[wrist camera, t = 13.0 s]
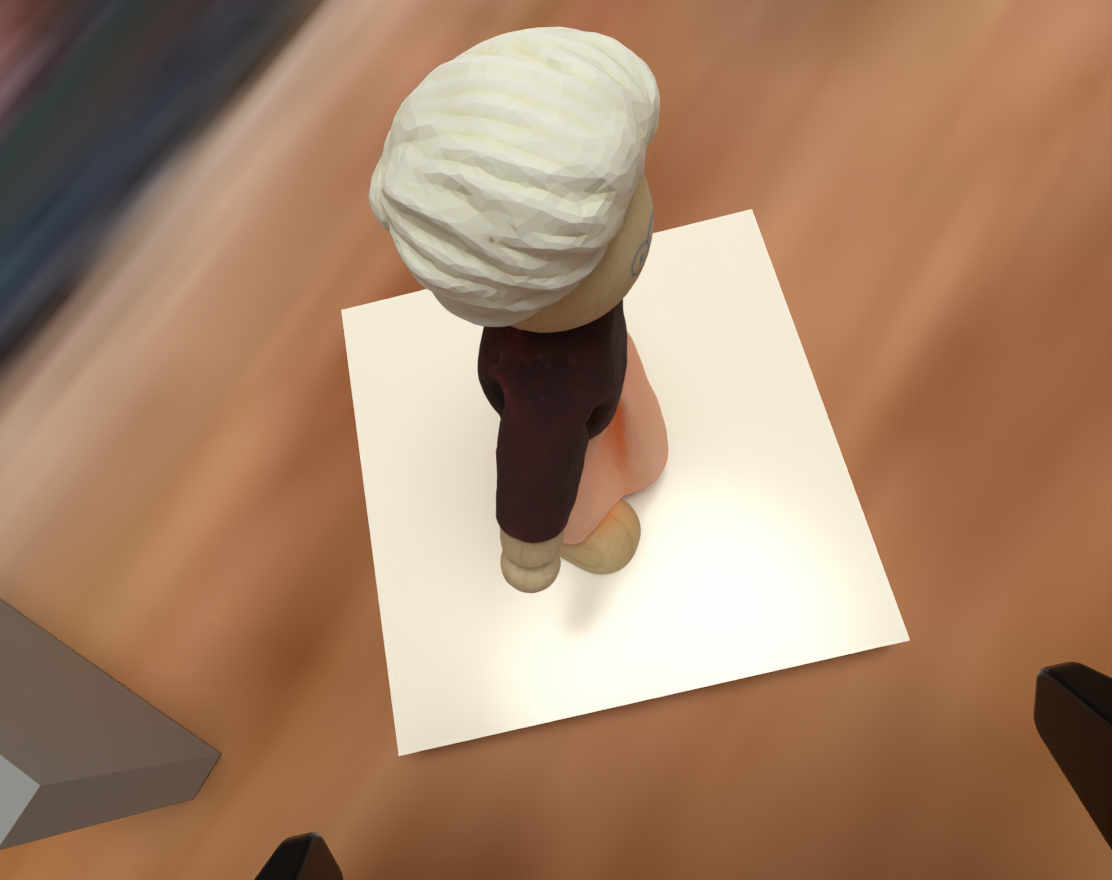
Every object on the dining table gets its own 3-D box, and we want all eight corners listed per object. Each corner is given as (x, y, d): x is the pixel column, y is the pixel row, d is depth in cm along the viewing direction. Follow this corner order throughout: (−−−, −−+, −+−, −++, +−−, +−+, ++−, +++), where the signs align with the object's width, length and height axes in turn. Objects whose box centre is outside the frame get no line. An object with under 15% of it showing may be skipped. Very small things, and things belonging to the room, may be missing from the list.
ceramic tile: (887, 643, 18) (909, 640, 16) (417, 750, 18) (398, 755, 17) (744, 239, 22) (751, 209, 20) (360, 333, 22) (341, 310, 21)
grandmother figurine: (686, 608, 17) (806, 441, 5) (526, 623, 17) (287, 494, 5) (648, 320, 20) (669, -245, 8) (508, 336, 20) (318, -184, 8)
